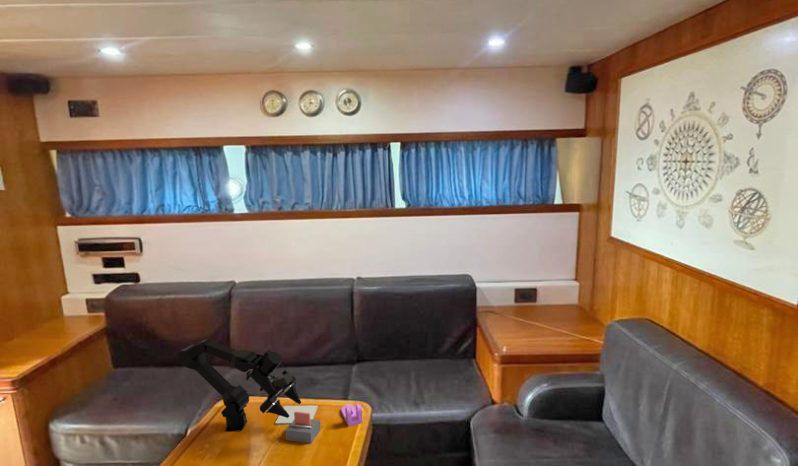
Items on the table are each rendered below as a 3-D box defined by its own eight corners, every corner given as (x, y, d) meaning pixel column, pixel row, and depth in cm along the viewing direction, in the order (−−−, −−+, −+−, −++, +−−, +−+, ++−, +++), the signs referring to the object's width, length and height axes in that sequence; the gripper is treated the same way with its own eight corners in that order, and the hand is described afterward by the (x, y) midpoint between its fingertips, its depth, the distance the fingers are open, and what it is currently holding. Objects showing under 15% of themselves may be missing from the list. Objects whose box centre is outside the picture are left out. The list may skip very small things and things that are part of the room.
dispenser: (286, 439, 163) (285, 428, 163) (296, 427, 171) (295, 415, 170) (311, 443, 161) (310, 431, 160) (320, 430, 169) (319, 418, 168)
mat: (275, 424, 174) (275, 422, 173) (284, 407, 185) (284, 406, 185) (310, 423, 173) (310, 422, 173) (317, 406, 185) (317, 405, 185)
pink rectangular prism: (295, 434, 166) (294, 412, 165) (296, 433, 167) (295, 411, 166) (310, 436, 165) (308, 414, 163) (311, 435, 166) (309, 413, 164)
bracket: (362, 423, 172) (361, 406, 171) (348, 427, 170) (347, 410, 169) (353, 406, 184) (352, 391, 183) (339, 410, 182) (338, 394, 181)
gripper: (264, 378, 155) (295, 411, 154) (289, 355, 173) (318, 384, 172) (246, 397, 158) (277, 429, 157) (273, 373, 176) (301, 401, 175)
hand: (294, 409), depth 165 cm, fingers open, 9 cm apart
